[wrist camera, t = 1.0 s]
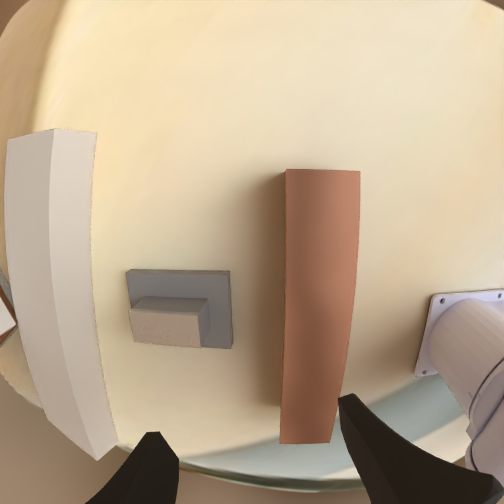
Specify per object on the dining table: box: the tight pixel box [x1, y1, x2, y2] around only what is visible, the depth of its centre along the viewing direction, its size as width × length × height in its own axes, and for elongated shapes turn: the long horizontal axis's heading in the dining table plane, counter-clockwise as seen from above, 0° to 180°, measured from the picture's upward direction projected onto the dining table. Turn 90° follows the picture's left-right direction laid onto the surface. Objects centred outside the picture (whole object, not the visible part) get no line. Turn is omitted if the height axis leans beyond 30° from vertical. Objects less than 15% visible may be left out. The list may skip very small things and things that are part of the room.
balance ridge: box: [126, 269, 233, 349], centre depth 21 cm, size 8×6×4 cm
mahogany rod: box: [280, 169, 360, 444], centre depth 20 cm, size 4×20×5 cm, turn 1°
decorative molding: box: [4, 129, 118, 460], centre depth 24 cm, size 34×5×10 cm
